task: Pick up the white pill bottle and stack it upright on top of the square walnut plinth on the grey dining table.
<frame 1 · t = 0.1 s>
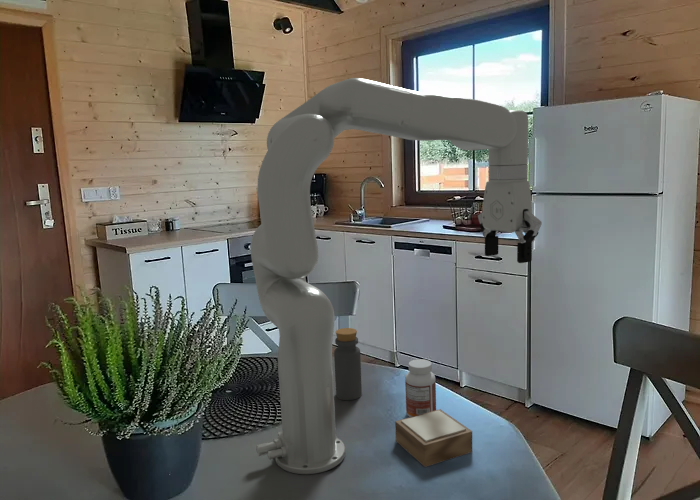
hand: (507, 258, 113), 31 cm above the table, fingers open, 9 cm apart
walnut plinth: (433, 446, 101), on the table
bottle: (349, 395, 125), on the table
pill bottle: (421, 415, 114), on the table
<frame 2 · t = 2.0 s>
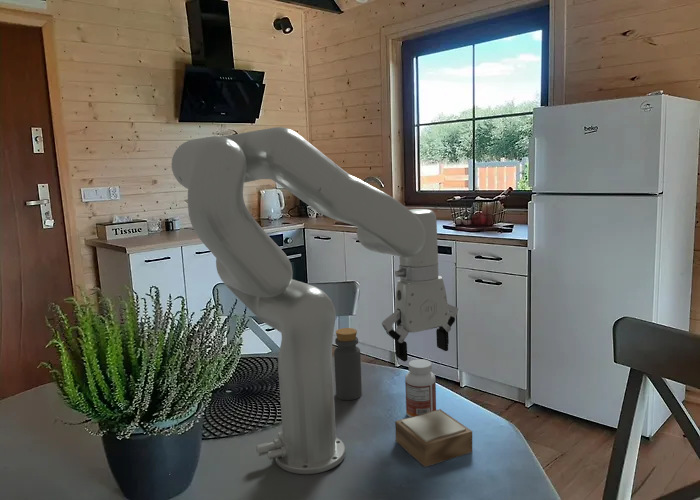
hand: (422, 354, 112), 13 cm above the table, fingers open, 9 cm apart
nothing on the table moved.
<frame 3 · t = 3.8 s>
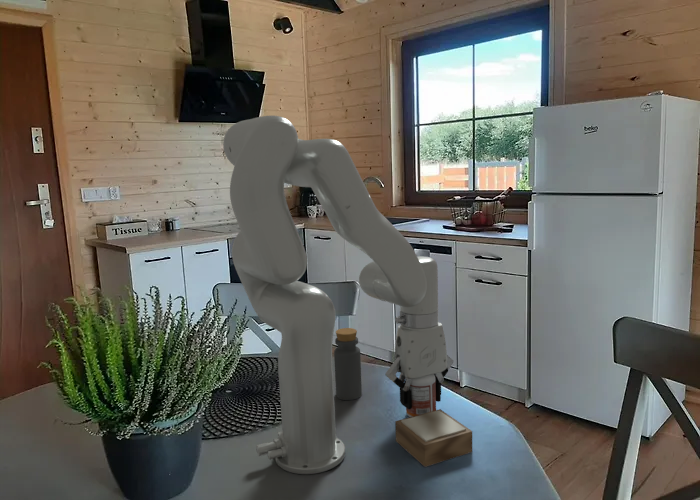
hand: (420, 402, 114), 3 cm above the table, fingers closed on pill bottle, 6 cm apart
pill bottle: (421, 415, 114), on the table, touching gripper
everything else where it was.
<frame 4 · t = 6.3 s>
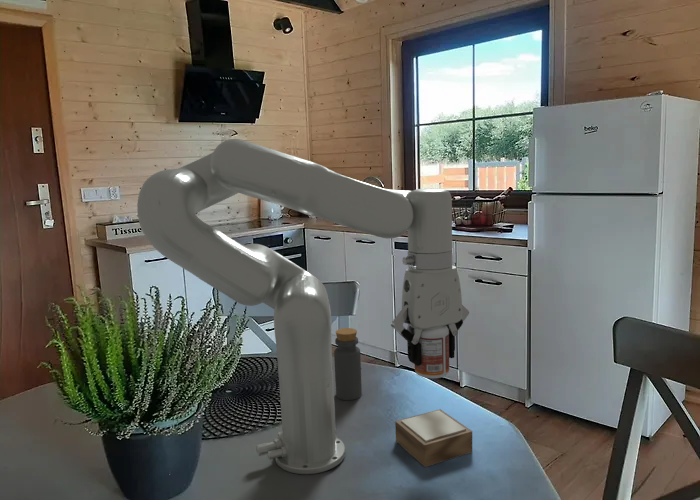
hand: (431, 358, 98), 17 cm above the table, fingers closed on pill bottle, 6 cm apart
pill bottle: (431, 373, 99), point 14 cm above the table, touching gripper
everything else where it was.
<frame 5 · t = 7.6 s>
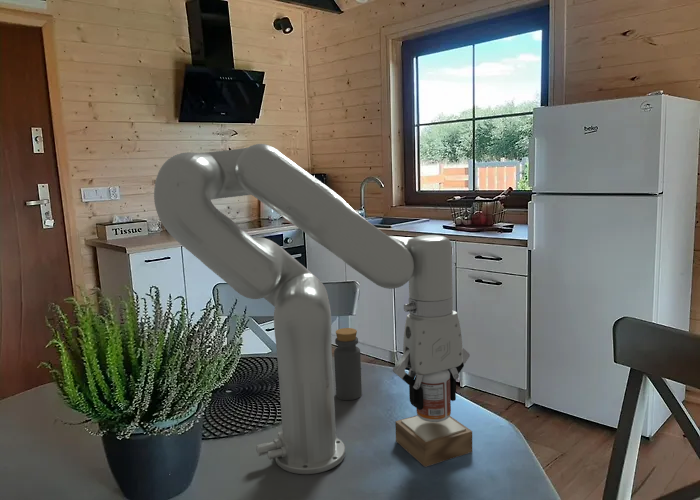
hand: (433, 401, 100), 9 cm above the table, fingers closed on pill bottle, 6 cm apart
pill bottle: (433, 416, 100), point 6 cm above the table, touching gripper
everything else where it was.
when the fingers open (7 cm above the table, at t = 8.8 s): pill bottle stays where it is, resting on walnut plinth.
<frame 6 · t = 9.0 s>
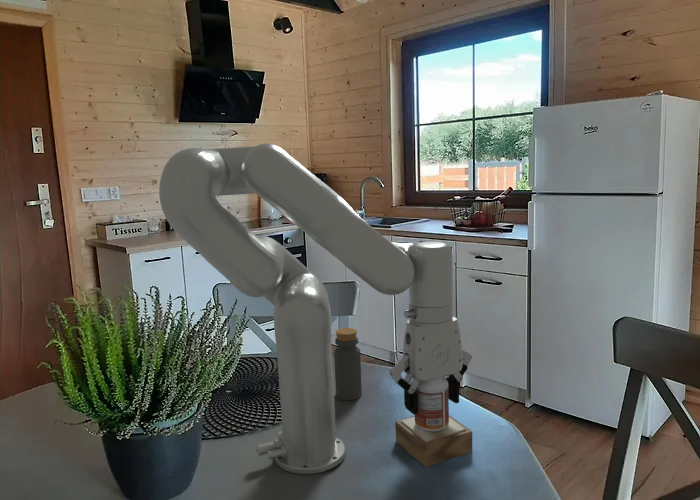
hand: (432, 405, 100), 8 cm above the table, fingers open, 8 cm apart
pill bottle: (431, 425, 100), point 4 cm above the table, touching walnut plinth
everything else where it was.
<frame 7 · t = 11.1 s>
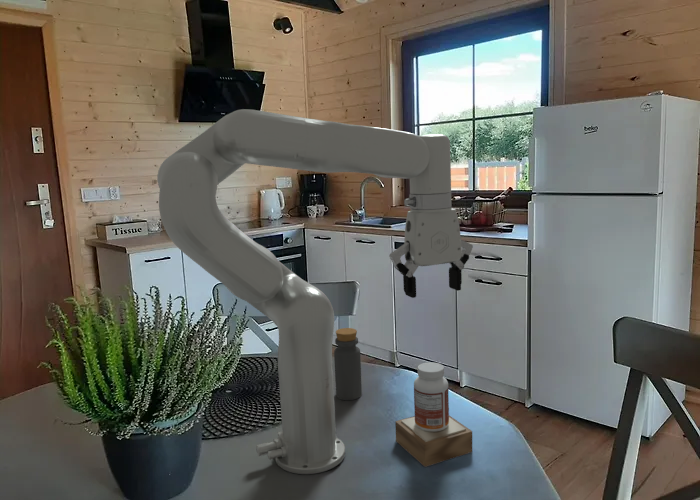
hand: (433, 292, 105), 27 cm above the table, fingers open, 9 cm apart
nothing on the table moved.
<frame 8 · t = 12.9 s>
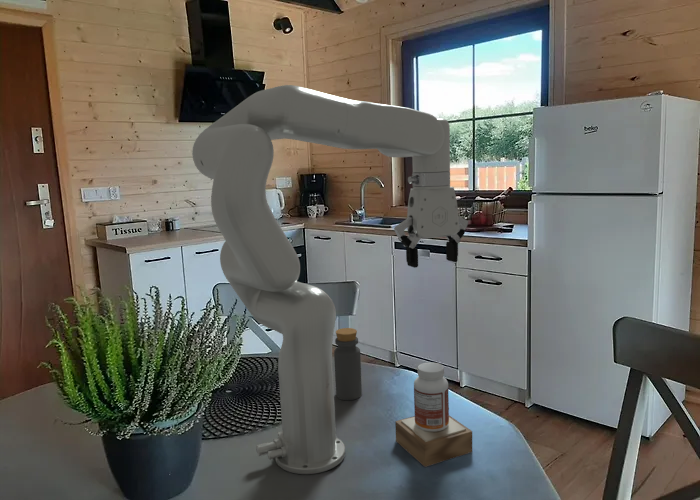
hand: (432, 263, 115), 30 cm above the table, fingers open, 9 cm apart
nothing on the table moved.
at the end: pill bottle inside the target area on the walnut plinth (0.2 cm from its centre), point 4.1 cm above the walnut plinth's base; pill bottle tilted 0°; the gripper is holding nothing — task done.
